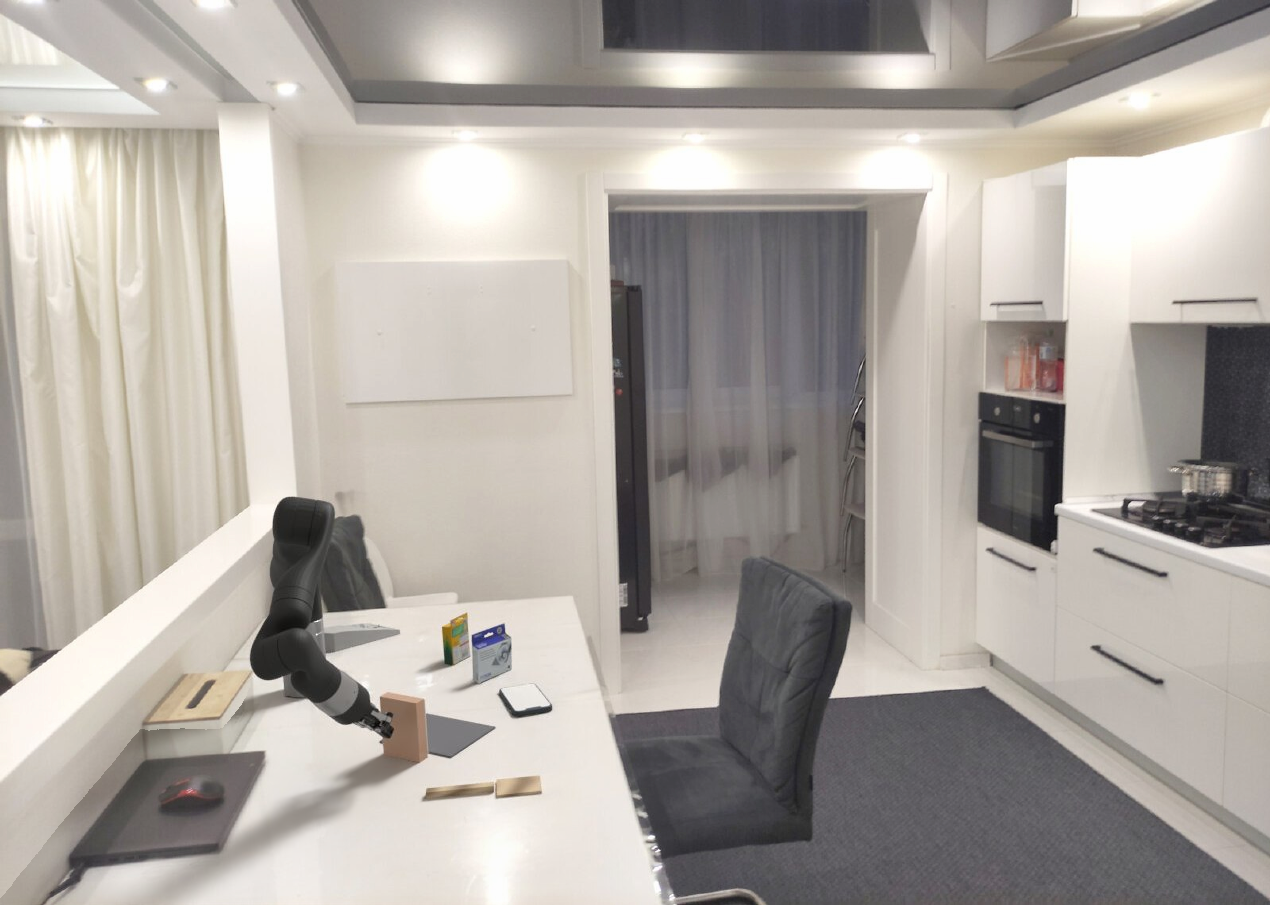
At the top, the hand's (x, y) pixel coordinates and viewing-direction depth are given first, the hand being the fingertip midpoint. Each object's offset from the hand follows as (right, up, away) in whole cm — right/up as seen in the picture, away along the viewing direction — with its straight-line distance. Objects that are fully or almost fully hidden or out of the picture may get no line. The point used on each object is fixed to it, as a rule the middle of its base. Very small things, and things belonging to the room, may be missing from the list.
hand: (389, 733), depth 186 cm
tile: (+2, -6, +5) cm, 8 cm away
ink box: (+13, 0, +46) cm, 48 cm away
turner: (+21, -7, -11) cm, 24 cm away
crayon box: (+2, +2, +58) cm, 58 cm away
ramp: (-30, +2, +75) cm, 81 cm away
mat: (+7, -4, +14) cm, 16 cm away
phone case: (+23, -2, +30) cm, 38 cm away
